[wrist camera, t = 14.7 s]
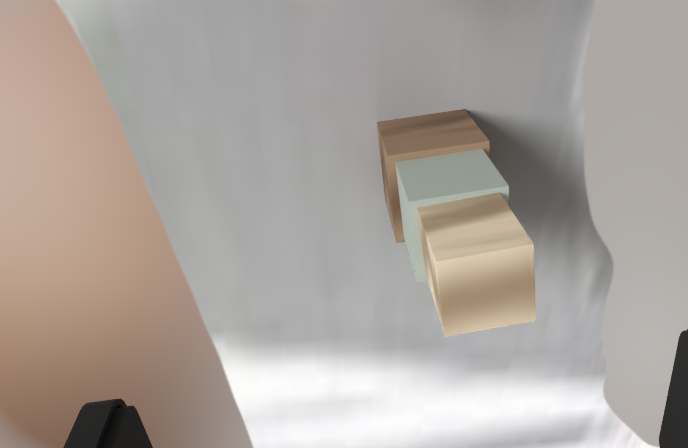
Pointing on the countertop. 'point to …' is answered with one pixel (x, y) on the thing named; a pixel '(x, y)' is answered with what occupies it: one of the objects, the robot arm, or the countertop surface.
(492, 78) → the countertop surface
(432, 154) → the walnut base block
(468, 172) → the sage top block
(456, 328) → the ash block
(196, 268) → the countertop surface
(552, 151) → the countertop surface
